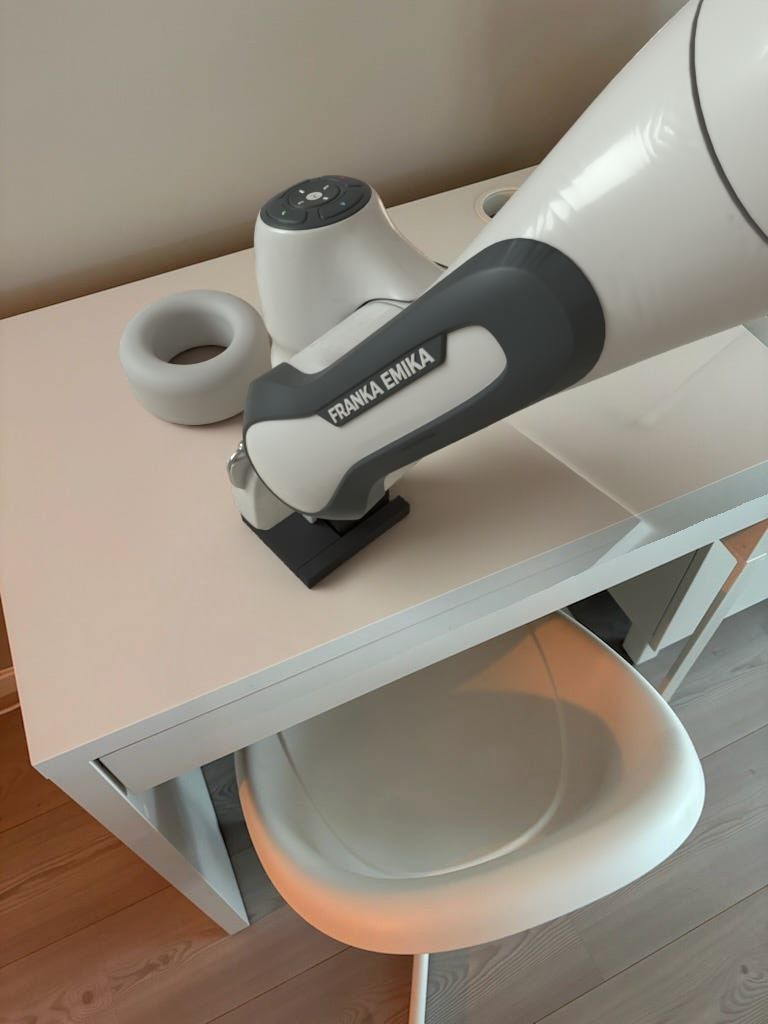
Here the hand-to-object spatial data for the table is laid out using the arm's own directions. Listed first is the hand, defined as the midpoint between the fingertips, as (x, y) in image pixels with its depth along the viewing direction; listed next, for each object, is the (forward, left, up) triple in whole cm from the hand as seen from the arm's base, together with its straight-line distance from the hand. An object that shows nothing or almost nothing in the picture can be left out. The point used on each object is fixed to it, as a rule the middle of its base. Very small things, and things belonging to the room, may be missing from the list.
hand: (344, 492), depth 69 cm
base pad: (0, +2, -2) cm, 3 cm away
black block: (0, 0, -2) cm, 2 cm away
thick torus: (+23, 0, -2) cm, 23 cm away
